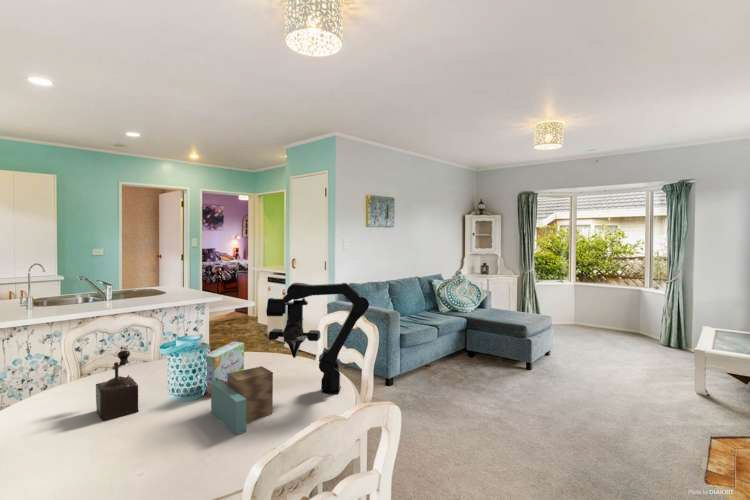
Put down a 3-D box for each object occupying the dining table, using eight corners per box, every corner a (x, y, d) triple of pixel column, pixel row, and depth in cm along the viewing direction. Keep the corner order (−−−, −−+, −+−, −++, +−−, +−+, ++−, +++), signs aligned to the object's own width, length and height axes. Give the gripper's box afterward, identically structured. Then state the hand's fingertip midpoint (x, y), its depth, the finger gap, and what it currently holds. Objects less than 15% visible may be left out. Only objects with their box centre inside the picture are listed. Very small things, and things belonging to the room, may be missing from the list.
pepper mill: (141, 411, 135) (141, 358, 135) (101, 421, 128) (101, 365, 127) (129, 397, 146) (129, 347, 146) (92, 406, 139) (91, 353, 138)
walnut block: (261, 406, 142) (261, 366, 141) (272, 413, 136) (272, 372, 135) (227, 415, 134) (227, 373, 133) (237, 424, 128) (237, 380, 127)
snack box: (214, 398, 148) (214, 356, 147) (200, 396, 149) (200, 355, 148) (244, 378, 169) (244, 341, 168) (232, 376, 170) (232, 340, 169)
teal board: (220, 409, 138) (220, 380, 138) (246, 431, 123) (246, 399, 123) (211, 412, 136) (211, 382, 136) (236, 434, 121) (236, 401, 121)
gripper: (263, 320, 147) (263, 363, 147) (315, 321, 146) (314, 365, 146) (273, 314, 158) (272, 354, 158) (321, 315, 157) (320, 355, 158)
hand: (294, 357), depth 155 cm, fingers closed
